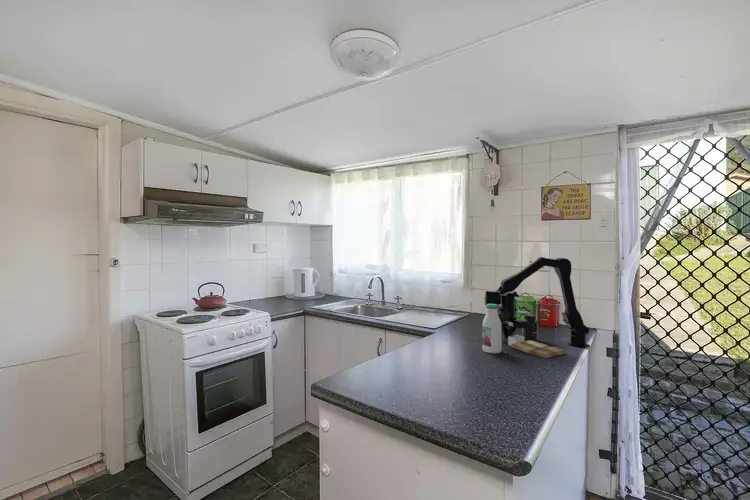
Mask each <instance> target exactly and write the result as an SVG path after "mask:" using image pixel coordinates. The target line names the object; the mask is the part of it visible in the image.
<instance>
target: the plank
mask: <svg viewBox="0 0 750 500" xmlns="http://www.w3.org/2000/svg"><path fill="white" fill-rule="evenodd" d="M547 347H550V346H549V345H548V344H545V343H541V342H538V341H537V342H535V341H532V340H530V341H524V342H519V343H514V344H511V346H510V348H512V349H514V350H518V351H520V352H524V353H526V354H530V352H532V350H537V349H542V348H547Z"/></svg>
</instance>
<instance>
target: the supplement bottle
mask: <svg viewBox="0 0 750 500" xmlns="http://www.w3.org/2000/svg"><path fill="white" fill-rule="evenodd" d="M524 320H525V321H528V323H529V327H528V328H521V330H522V331H521V333H522V334H521V336H524V342H525V341H530V340H532V341H535V342H538V340H539V336H538V335H539V324H538V321H536V320H537V317H536V315H535V314H525V315H524Z"/></svg>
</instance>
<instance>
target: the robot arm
mask: <svg viewBox="0 0 750 500" xmlns="http://www.w3.org/2000/svg"><path fill="white" fill-rule="evenodd" d="M544 267H550V268H553V269H554V272H555V274H556V275H557V278H558V279H559V285H560V288H561V295H562V300H563V303H564V312H561V316H562V322H564V324H565V325H566V326H568V329H569V331H570V342H567V345H570V346H573V347H577V348H581V349H582V348H586V347H591V346H590V344H588V343H587V335H589V332H590V329H589V328H588V327H587V326H586V324H584V321H583V320H584V319H583V318H582V316H581V313H580V312H579V311H578V308H577V304H576V300H575V299H576V298H575V294H574V290H573V285H572V279H571V275H572V262H571V260H570V259H568V258H566V257H565V258H564V257H557V258H555V259H554V258H547V257H541V256H540V257H538V258H537V259H535V260H534V261H533V262H531V263H530V264H528V265H526V267H524V268H523V269H521V270H520V271H518V272H517V273H515V274H513V275H511V276H509V277H506V278H504V279H502V280H501V282H500V286H499V287H498V288H497V289H496V291H493V290H492V291H490V290H485V294H484V306H485V307H486V305H487V304H497V305H498V306H499V305H501V307H499V309H498V311H497V313H498V316H499V319H500V321H501V329H502V333H503V336H504V338H505V340H508V337H509V336H513V335H515V332H516V330H517V329H521V330H522V328H528V327H529V323H528V321H525V319H517V317H515V313H516V312H517V310H518V309H517V308H515V306H516V305H515V303H516V302H515V298H519V297H520V295H519V294H518V293H517V291H515V290H516V289H517V288H518V287H519V286H520V285H521V284H522V283H523V281H525V280H526V279H528V278H529V277H531V276H532V275H533V274H535V273H536V272H538V271H539V270H541V269H542V268H544Z"/></svg>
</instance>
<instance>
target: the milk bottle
mask: <svg viewBox="0 0 750 500" xmlns="http://www.w3.org/2000/svg"><path fill="white" fill-rule="evenodd" d="M498 306H499V304H498V305H497V304H487V305H486V306H485V307H486V308H485V310H486V313H485V315H484V318H483V321H482V351H483V352H485V353H488V354H500V353H502V351H503V350H502V347H503V345H502V342H503V341H502V340H503V338H502V337H503V336H502V335H503V334H502V333H503V331H502V328H501V321H500V319H499V316H498V311H499V309H498V308H499V307H498Z"/></svg>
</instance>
